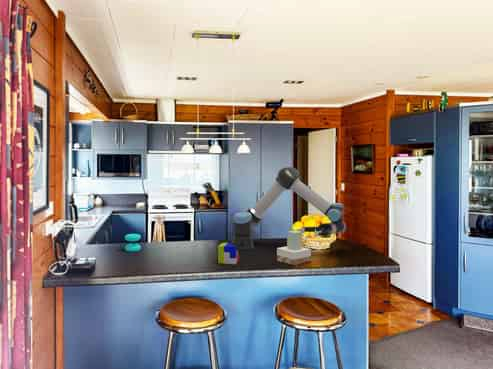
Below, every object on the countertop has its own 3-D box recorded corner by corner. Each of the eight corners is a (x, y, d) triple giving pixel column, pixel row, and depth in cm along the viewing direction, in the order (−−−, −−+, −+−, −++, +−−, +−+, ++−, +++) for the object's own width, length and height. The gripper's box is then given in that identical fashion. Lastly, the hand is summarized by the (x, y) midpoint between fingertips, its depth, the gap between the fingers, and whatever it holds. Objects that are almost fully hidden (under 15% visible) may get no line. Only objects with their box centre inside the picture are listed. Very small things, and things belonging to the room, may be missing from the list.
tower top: (276, 254, 242) (277, 248, 242) (293, 251, 251) (293, 245, 251) (294, 259, 231) (294, 252, 231) (310, 256, 240) (311, 249, 240)
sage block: (287, 248, 241) (287, 231, 241) (294, 247, 245) (294, 230, 244) (294, 250, 237) (294, 233, 236) (301, 248, 240) (302, 232, 240)
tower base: (277, 261, 242) (277, 254, 242) (293, 257, 252) (293, 251, 251) (295, 266, 232) (295, 259, 232) (310, 262, 241) (311, 255, 241)
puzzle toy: (235, 264, 234) (235, 247, 233) (218, 263, 236) (218, 246, 235) (239, 260, 243) (239, 243, 243) (222, 259, 245) (222, 242, 245)
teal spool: (124, 233, 268) (139, 233, 272) (124, 249, 269) (139, 248, 273) (125, 236, 259) (141, 235, 263) (125, 252, 260) (141, 251, 263)
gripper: (343, 237, 252) (322, 242, 238) (312, 232, 271) (290, 236, 256) (344, 225, 251) (322, 229, 237) (312, 220, 270) (290, 224, 256)
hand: (305, 232), depth 247 cm, fingers open, 13 cm apart
